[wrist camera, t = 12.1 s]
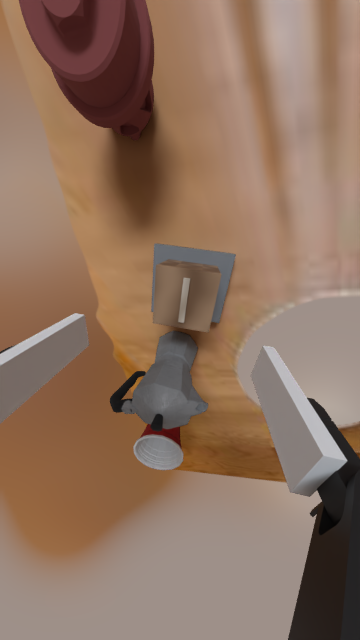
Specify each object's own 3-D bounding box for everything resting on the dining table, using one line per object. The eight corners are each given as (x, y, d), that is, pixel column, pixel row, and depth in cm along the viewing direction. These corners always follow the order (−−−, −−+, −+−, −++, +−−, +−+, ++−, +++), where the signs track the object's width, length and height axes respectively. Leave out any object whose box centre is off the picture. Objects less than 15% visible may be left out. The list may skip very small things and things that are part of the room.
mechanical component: (162, 34, 19) (172, 149, 23) (85, 59, 21) (107, 162, 25) (105, -249, 8) (143, 65, 12) (-52, -149, 10) (28, 99, 14)
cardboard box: (165, 304, 31) (152, 324, 24) (168, 259, 28) (155, 265, 20) (207, 311, 30) (208, 333, 23) (217, 265, 27) (221, 275, 20)
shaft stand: (233, 253, 28) (244, 258, 20) (218, 318, 33) (222, 341, 25) (157, 243, 29) (140, 244, 21) (154, 308, 34) (139, 327, 26)
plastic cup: (192, 397, 43) (188, 449, 32) (183, 422, 48) (177, 475, 37) (152, 386, 43) (135, 434, 33) (147, 412, 48) (130, 462, 37)
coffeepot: (205, 327, 34) (204, 404, 18) (208, 364, 38) (211, 454, 22) (135, 332, 37) (81, 402, 21) (145, 366, 41) (105, 447, 25)
